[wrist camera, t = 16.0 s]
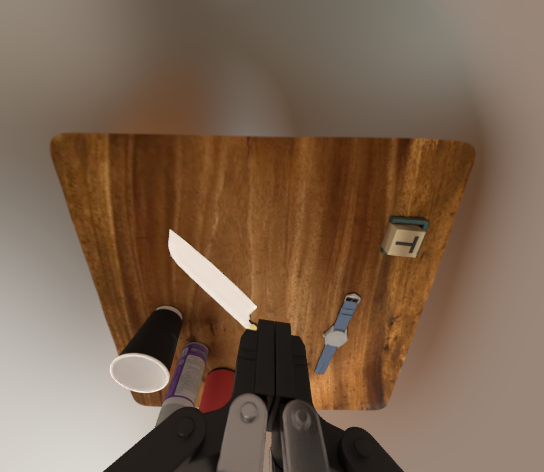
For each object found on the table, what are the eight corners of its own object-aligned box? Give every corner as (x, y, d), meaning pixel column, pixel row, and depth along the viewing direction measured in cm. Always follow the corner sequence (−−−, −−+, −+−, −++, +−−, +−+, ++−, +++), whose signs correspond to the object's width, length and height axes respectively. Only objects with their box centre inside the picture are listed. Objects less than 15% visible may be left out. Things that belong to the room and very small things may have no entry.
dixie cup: (135, 309, 45) (96, 368, 35) (171, 291, 43) (140, 347, 33) (166, 338, 48) (138, 399, 38) (200, 322, 46) (181, 382, 36)
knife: (178, 223, 37) (152, 242, 38) (304, 359, 49) (282, 372, 50) (180, 220, 38) (155, 238, 39) (302, 354, 50) (281, 366, 51)
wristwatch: (365, 294, 43) (367, 298, 42) (328, 373, 52) (329, 378, 51) (341, 289, 42) (342, 293, 42) (307, 370, 51) (308, 374, 50)
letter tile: (380, 245, 39) (387, 255, 37) (389, 221, 37) (397, 229, 35) (406, 248, 39) (415, 258, 37) (416, 224, 37) (426, 232, 35)
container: (190, 361, 51) (159, 454, 37) (179, 344, 49) (143, 436, 35) (212, 356, 50) (190, 449, 36) (202, 339, 48) (174, 431, 34)
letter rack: (380, 250, 39) (382, 253, 38) (390, 215, 37) (393, 218, 36) (414, 252, 39) (417, 256, 39) (426, 218, 37) (430, 221, 36)
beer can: (235, 390, 55) (226, 461, 44) (204, 384, 54) (187, 454, 43) (243, 370, 52) (235, 440, 41) (210, 364, 51) (193, 433, 40)
